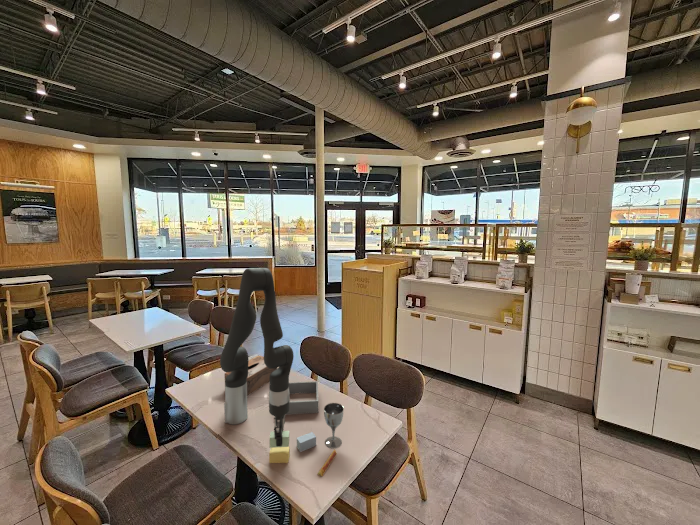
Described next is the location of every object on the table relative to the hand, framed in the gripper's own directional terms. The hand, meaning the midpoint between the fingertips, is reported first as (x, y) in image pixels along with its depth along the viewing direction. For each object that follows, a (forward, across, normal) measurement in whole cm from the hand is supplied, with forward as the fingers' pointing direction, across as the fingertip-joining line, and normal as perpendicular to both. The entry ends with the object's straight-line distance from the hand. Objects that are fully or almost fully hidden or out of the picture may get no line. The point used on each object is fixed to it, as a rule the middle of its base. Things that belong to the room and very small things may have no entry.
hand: (279, 441), depth 114 cm
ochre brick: (+7, 0, 0) cm, 7 cm away
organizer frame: (+7, -37, +6) cm, 38 cm away
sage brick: (+1, 0, 0) cm, 1 cm away
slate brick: (+7, -6, +10) cm, 14 cm away
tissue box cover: (+7, -59, -21) cm, 63 cm away
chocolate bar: (+8, +4, +18) cm, 20 cm away
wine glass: (+8, -7, +21) cm, 23 cm away
